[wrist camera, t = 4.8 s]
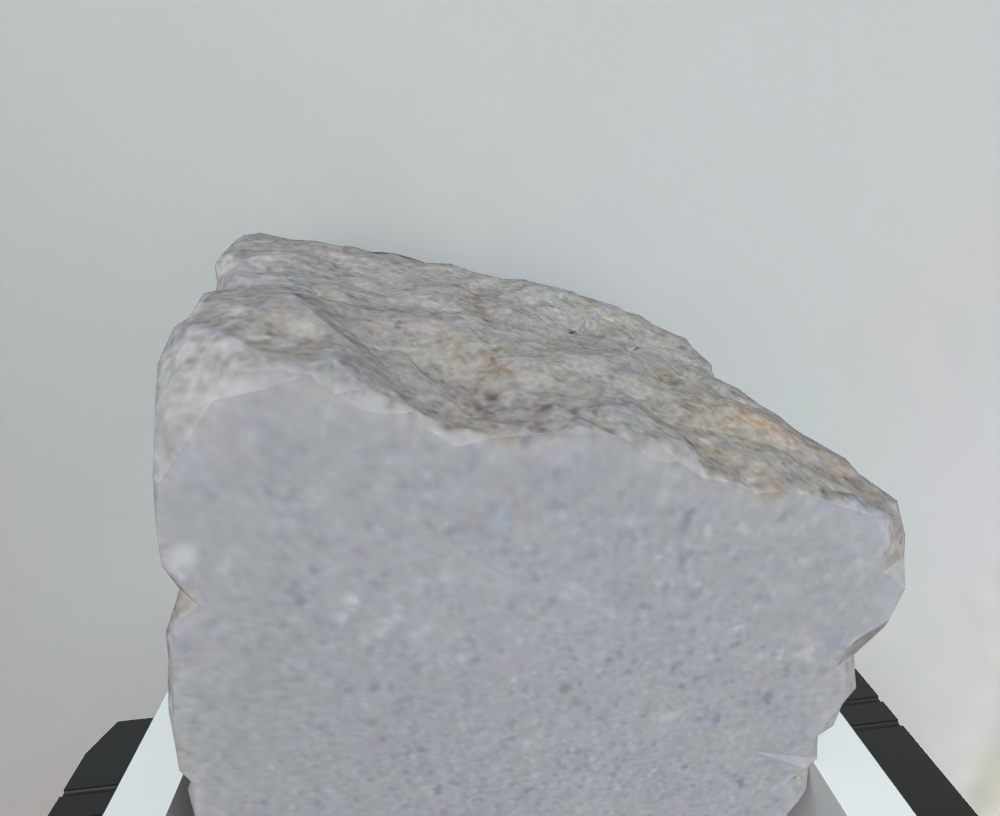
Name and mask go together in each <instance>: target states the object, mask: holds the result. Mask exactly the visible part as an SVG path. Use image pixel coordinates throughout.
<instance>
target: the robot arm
mask: <svg viewBox="0 0 1000 816" xmlns="http://www.w3.org/2000/svg"><path fill="white" fill-rule="evenodd" d="M855 679H856V689H855V690H854V691H853V692H852V693H851V695H850V696H849V697H848V698H847V699H846V700H845V701H844V703H843V705H842V707H841V709H840V711H839V714H838V716H837V718H836V720H835V723H834V725H833V726H832V727H831V728H829V729H828V730H826V731H825V732H823V733H822V734H820V735H819V736H818V743H817V759H816V760H815V761H814V762H813V763H812V764H811V765H810V766H809V768H808V777H807V786H806V790H805V792H804V793H803V795H802V796H801V798H800V799H799V801H798V802H797V803H796V804H795V806H794V807H793V808H792V809H791V810H790V811H789V813H788V814H787V816H978V815H977V814H976V813H975V812H974V810H973V809H972V808H971V807H970V806H969V804H968V803H967V802H966V801H965V800H964V798H963V797H962V796H961V795H960V794H959V792H958V791H957V790H956V789H955V788H954V786H953V785H952V784H951V783H950V782H949V780H948V779H947V778H946V777H945V776H944V774H943V773H942V772H941V771H940V770H939V768H938V767H937V766H936V765H935V764H934V762H933V761H932V760H931V759H930V758H929V756H928V755H927V754H926V753H925V752H924V750H923V749H922V748H921V747H920V746H919V744H918V743H917V742H916V741H915V740H914V738H913V737H912V736H911V735H910V734H909V732H908V731H907V730H906V729H905V728H904V726H900V725H899V723H898V719H897V718H896V717H895V716H894V714H893V713H892V712H891V711H890V710H889V708H888V707H887V706H886V705H885V704H884V702H880V701H879V699H878V695H877V694H876V693H875V692H874V690H873V689H872V688H871V687H870V686H869V684H868V683H867V682H866V681H865V680H864V678H863V677H862V676H861V675H860V674H859V672H858V671H857V670H856V669H855ZM190 782H191V781H190V780H189V779H188V778H187V777H186V776H185V775H184V774H183V773H182V772H180V771H179V766H178V760H177V754H176V747H175V742H174V737H173V731H172V726H171V721H170V716H169V710H168V692H167V694H166V695H165V697H164V699H163V701H162V703H161V705H160V707H159V709H158V711H157V713H156V715H155V717H154V718H148V719H138V720H129V721H119V722H117V723H116V724H115V725H114V726H113V727H112V728H111V729H110V730H109V731H108V732H107V733H106V734H105V735H104V736H103V737H102V738H101V739H100V740H99V741H98V742H97V743H96V744H95V745H94V746H93V747H92V748H91V749H90V750H89V751H88V752H87V753H86V754H85V756H84V757H83V759H82V761H81V762H80V764H79V766H78V767H77V769H76V771H75V772H74V774H73V775H72V777H71V779H70V780H69V782H68V784H67V785H66V787H65V789H64V794H63V796H62V797H59V799H58V800H57V802H56V803H55V805H54V807H53V808H52V810H51V812H50V813H49V815H48V816H195V815H194V811H193V807H192V803H191V800H190V796H189V792H188V787H189V784H190Z"/></svg>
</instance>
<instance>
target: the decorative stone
mask: <svg viewBox="0 0 1000 816" xmlns="http://www.w3.org/2000/svg"><path fill="white" fill-rule="evenodd" d="M215 270H216V276H217V289H216V291H214V292H208V293H204V294H203V295H202V297H201V299H200V300H199V302H198V303H197V305H196V307H195V308H194V310H193V311H192V313H191V315H190V316H189V318H187V319H186V320H184V321H183V322H181V323H180V324H178V325H177V326H176V327H174V328H173V330H172V333H171V335H170V337H169V339H168V342H167V344H166V346H165V349H164V351H163V353H162V355H161V358H160V360H159V362H158V371H157V387H156V403H155V435H154V469H153V481H154V499H155V518H156V528H157V535H158V542H159V549H160V556H161V563H162V566H163V568H164V569H165V570H166V572H167V573H168V574H169V576H170V577H171V578H172V579H173V581H174V582H175V583H176V585H177V586H178V587H179V589H180V590H179V594H178V597H177V600H176V603H175V606H174V609H173V612H172V615H171V618H170V622H169V625H168V628H167V631H166V635H167V646H168V657H169V675H168V710H169V716H170V721H171V726H172V731H173V737H174V742H175V747H176V754H177V760H178V766H179V771H180V772H182V773H183V774H184V775H185V776H186V777H187V778H188V779H189V780H190V781H191V782H190V784H189V787H188V792H189V796H190V800H191V803H192V807H193V811H194V815H195V816H787V814H788V813H789V811H790V810H791V809H792V808H793V807H794V806H795V804H796V803H797V802H798V801H799V799H800V798H801V796H802V795H803V793H804V792H805V790H806V786H807V777H808V768H809V766H810V765H811V764H812V763H813V762H814V761H815V760H816V759H817V743H818V736H819V735H820V734H822V733H823V732H825V731H826V730H828V729H829V728H831V727H832V726H833V725H834V723H835V720H836V718H837V716H838V714H839V711H840V709H841V707H842V705H843V703H844V701H845V700H846V699H847V698H848V697H849V696H850V695H851V693H852V692H853V691H854V690H855V689H856V679H855V665H854V654H855V653H856V652H857V651H858V650H860V649H861V648H862V647H863V646H864V645H865V644H866V643H867V642H868V641H869V640H870V639H872V638H873V637H874V636H875V635H876V634H877V633H878V632H879V631H880V630H881V629H882V628H883V627H884V626H885V625H886V623H887V622H888V621H889V619H890V617H891V615H892V613H893V611H894V609H895V607H896V605H897V603H898V601H899V599H900V597H901V595H902V594H903V592H904V590H905V571H904V547H905V533H904V529H903V525H902V520H901V516H900V511H899V507H898V503H897V500H895V499H894V498H892V497H891V496H890V495H888V494H887V493H885V492H884V491H883V490H881V489H880V488H878V487H877V486H875V485H874V484H873V483H871V482H870V481H868V480H867V479H866V478H864V477H863V476H861V475H860V474H859V473H858V472H857V471H856V470H855V469H854V468H853V467H852V465H851V464H850V463H849V462H848V461H847V460H846V459H845V458H843V457H842V456H840V455H838V454H836V453H835V452H833V451H831V450H829V449H828V448H826V447H824V446H822V445H821V444H819V443H817V442H815V441H814V440H812V439H810V438H808V437H807V436H805V435H803V434H801V433H800V432H798V431H796V430H795V429H794V428H793V427H791V426H790V425H789V424H788V423H787V422H785V421H784V420H783V419H782V418H781V417H779V416H778V415H776V414H775V413H773V412H771V411H769V410H768V409H766V408H764V407H763V406H761V405H759V404H758V403H757V402H755V401H754V400H752V399H751V398H750V397H748V396H747V395H746V394H744V393H743V392H742V391H740V390H739V389H738V388H735V387H733V386H731V385H729V384H727V383H725V382H723V381H721V380H719V379H717V378H715V377H714V375H713V373H712V365H711V364H710V363H709V362H708V361H707V360H706V359H704V358H703V357H702V356H701V355H700V354H699V353H698V352H697V351H696V350H695V349H694V348H692V346H691V345H690V344H689V342H688V341H687V339H686V338H683V337H680V336H677V335H675V334H672V333H670V332H668V331H666V330H664V329H661V328H659V327H657V326H655V325H653V324H651V323H650V322H648V321H647V320H646V319H644V318H643V317H641V316H640V315H636V314H632V313H628V312H625V311H624V310H622V309H621V308H619V307H616V306H613V305H610V304H606V303H603V302H600V301H597V300H593V299H590V298H587V297H583V296H580V295H578V294H576V293H574V292H571V291H568V290H564V289H560V288H556V287H551V286H547V285H542V284H538V283H534V282H529V281H526V280H515V279H514V280H512V279H500V278H496V277H492V276H488V275H483V274H479V273H475V272H471V271H468V270H466V269H463V268H460V267H458V266H455V265H452V264H438V263H424V262H421V261H418V260H415V259H412V258H409V257H405V256H401V255H397V254H394V253H383V252H368V251H365V250H362V249H359V248H356V247H346V246H335V245H331V244H326V243H322V242H317V241H305V240H290V239H286V238H281V237H277V236H272V235H268V234H263V233H257V234H249V235H243V236H242V237H240V238H239V239H237V240H236V241H235V242H234V243H233V244H232V245H231V246H230V247H229V248H228V249H227V250H226V251H225V252H224V253H223V254H222V256H221V257H220V259H219V260H218V261H217V263H216V264H215Z"/></svg>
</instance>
